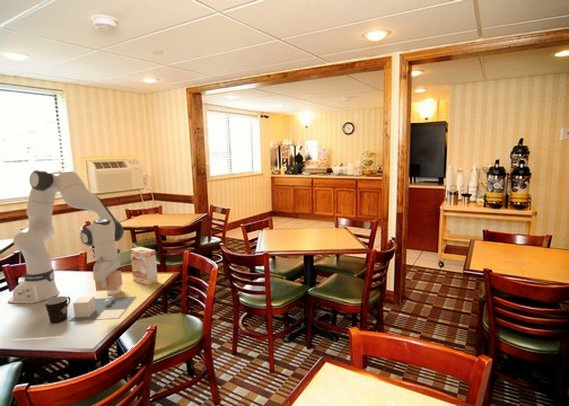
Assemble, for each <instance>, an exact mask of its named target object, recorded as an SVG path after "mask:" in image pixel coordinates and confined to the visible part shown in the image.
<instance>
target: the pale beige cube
mask: <svg viewBox="0 0 569 406" xmlns="http://www.w3.org/2000/svg"><path fill="white" fill-rule="evenodd" d="M95 299H96V298H95V296H80V297H79V298H78V299H76V300H75V301H74V302H73V303H72V305H73V315H74V316H75V317H90V316H91V315H92V314H93V313H94V312H95V311H96V305H95Z"/></svg>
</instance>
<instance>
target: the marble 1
mask: <svg viewBox="0 0 569 406" xmlns="http://www.w3.org/2000/svg"><path fill="white" fill-rule="evenodd" d="M104 303H105V305H107V306H108V305H110V304H111V300H109V299H107V300H106V301H105V302H104Z"/></svg>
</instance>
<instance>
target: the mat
mask: <svg viewBox="0 0 569 406" xmlns="http://www.w3.org/2000/svg"><path fill="white" fill-rule="evenodd" d="M108 298H109V297H104V298H95V305H96V311H95V312H94V313H93V314H92V315H91V316H90V317H75V315H74V316H73V317H72V318H71V319H70V320H69V322H81V321H82V322H83V321H84V322H85V321H95V320H96V321H101V320H118V319H120V318H121V317H122V316H123V314H124V313H125V312H126V311H127V309H128V308H129V307H130V305H131V304H132V303H133V302H134V301H135V300H136V299H137V296H123V297H114V298H115V299H114V301H113V302H111V304H110V305H108V306H107V305H105V303H104V302H105V301H106V300H107V299H108Z"/></svg>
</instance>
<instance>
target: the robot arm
mask: <svg viewBox="0 0 569 406" xmlns="http://www.w3.org/2000/svg"><path fill="white" fill-rule="evenodd" d="M29 185H30V186H31V189H30V191H29V196H28V200H27V206H26V213H25V214H26V216H27V217H28V226H27V227H26V228H23V229H21V230H19V231H17V233H16V234H15V235H14V237H13V239H12V240H13V241H12V242H13V244H14V246H15V248H17V249H18V250H20V252H21V254H22V256H23V258H24V261H25V267H26V268H25V269H26V273H24V274H23V275H22V276H21V278H22V279H23V281H22V282H20V283H19V284H18V285H16V286H15V288H14V289H13V291H12V296H11V297H9V298H8V299H7V303H8V304H36V303H38V302H41V301H47V300H49V299H51V298H54V297H57V296H58V295H59V294H60V292H59V291H60V290H59V289H58V287H57V284H56V280H55V270H54V268H53V265H52V264H53V262H52V258H51V257H52V256H51V253H48V251H47V249H46V247H45V243H47V242H49V241H50V240H51V239H52V238H53V236H54V235H55V229H54V226H53V210H54V207H55V199H56V194H57V193H60V195H61V196H62V200H63V201H64V203H65V204H67V206H69V207H70V208H71V207H72V208H74V209H80V210H86V211H90V212H91V211H92V212H94V213H95V214H97V216H98V217H99V218H98V219H95V220H93V222H92V223H91V224H89V225H87V226H84V227H83V228H82V229H81V231H80V240H81V243H83V244H84V245H85V246H87V247H94V249H93V251H94V258H95V263H94V265H93V267H92V268H93V269H92V270H93V271H92V274H93V275H92V276H93V281H94V282H95V281H101V283H102V287H106V286H108V282H106V277H108V276H109V275H110V274H111V273H112V272H114V271H117V270H118V269H119V268H120V267H121V248H120V247H119V248H117V245H116V243H115V242H119V241H120V240H121V239H122V238H123V236H124V232H125V230H124V227H123V225H122V224H121V223H120V221H118V220H117V219H116V217H115V216H114V215H113V214H112V212H111V211H110V210H109V208H108V207H107V206H106V204H105V203H104V202H103V200H102V199H101V198H100V197H98V196H97V195H94V194H93V193H92V192H91V191H89V189H88V188H87V186H86V185H85V183H84V181H83V179H82V178H81V177H80V175H78V173H77V172H76V171H73V170H58V169H36V170H33V171H32V173H31V174H30V177H29Z"/></svg>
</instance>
